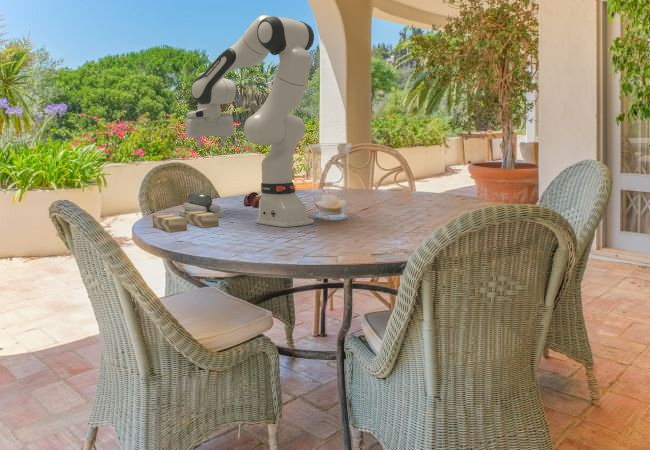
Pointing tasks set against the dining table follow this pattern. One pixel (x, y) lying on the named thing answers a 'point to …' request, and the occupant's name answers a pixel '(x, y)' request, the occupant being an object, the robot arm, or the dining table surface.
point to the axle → (200, 199)
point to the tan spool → (185, 220)
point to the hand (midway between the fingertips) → (211, 147)
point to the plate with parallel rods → (202, 209)
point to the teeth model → (252, 199)
